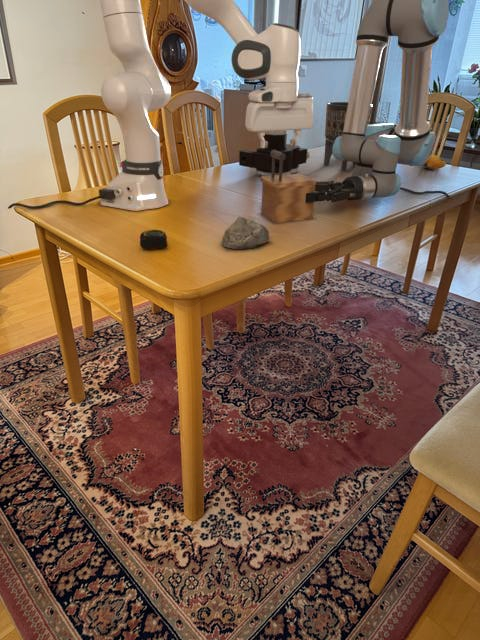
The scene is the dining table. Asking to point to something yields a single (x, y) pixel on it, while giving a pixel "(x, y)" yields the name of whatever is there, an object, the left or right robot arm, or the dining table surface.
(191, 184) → the dining table surface
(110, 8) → the left robot arm
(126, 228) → the dining table surface
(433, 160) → the toy
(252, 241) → the rock
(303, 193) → the chest
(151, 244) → the tape measure
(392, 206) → the dining table surface
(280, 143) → the mechanical component
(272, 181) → the lid
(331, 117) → the planter
